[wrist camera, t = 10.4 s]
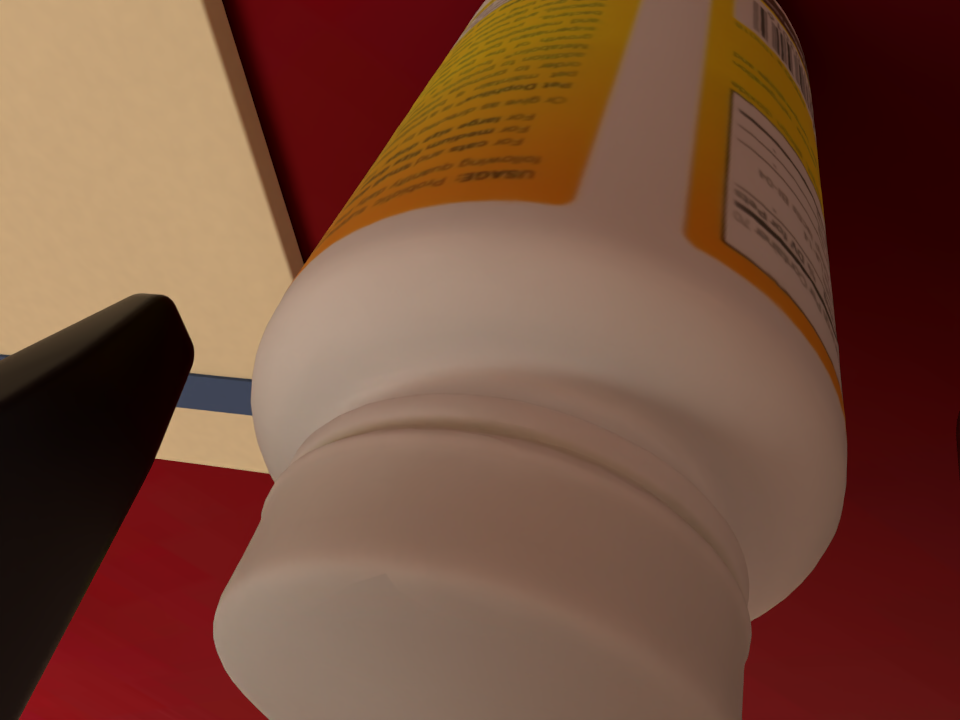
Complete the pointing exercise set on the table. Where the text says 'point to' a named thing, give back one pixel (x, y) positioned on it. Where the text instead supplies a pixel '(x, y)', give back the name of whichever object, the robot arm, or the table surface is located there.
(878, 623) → the table surface
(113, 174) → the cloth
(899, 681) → the table surface
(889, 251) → the table surface
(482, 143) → the supplement bottle
